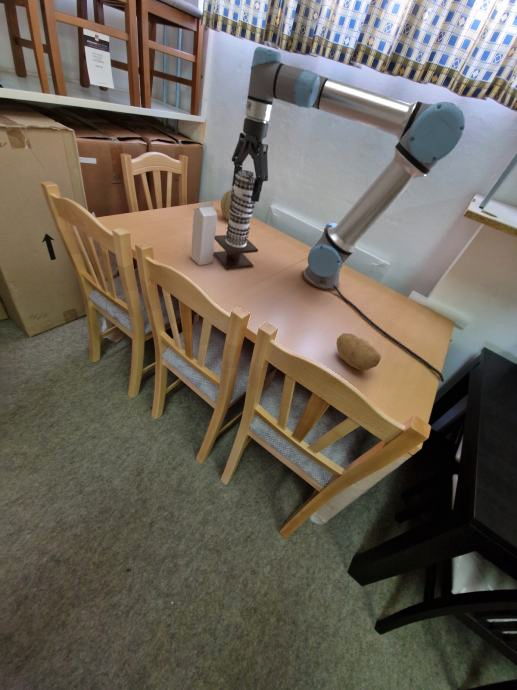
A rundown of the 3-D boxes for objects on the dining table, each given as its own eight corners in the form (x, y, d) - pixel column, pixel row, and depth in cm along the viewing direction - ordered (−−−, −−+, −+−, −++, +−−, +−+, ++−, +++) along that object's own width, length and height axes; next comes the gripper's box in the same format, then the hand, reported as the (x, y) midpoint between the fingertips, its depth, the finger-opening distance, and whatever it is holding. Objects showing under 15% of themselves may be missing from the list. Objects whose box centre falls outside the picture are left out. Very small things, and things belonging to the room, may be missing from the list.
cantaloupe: (242, 229, 146) (248, 197, 136) (214, 220, 146) (218, 188, 136) (250, 219, 157) (256, 190, 147) (224, 211, 157) (228, 181, 147)
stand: (254, 267, 121) (258, 249, 115) (226, 270, 114) (229, 251, 109) (239, 251, 128) (242, 234, 122) (212, 254, 121) (214, 235, 116)
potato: (341, 342, 97) (351, 323, 92) (377, 369, 91) (390, 351, 86) (324, 353, 91) (334, 334, 86) (361, 383, 85) (374, 364, 80)
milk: (212, 262, 116) (219, 205, 102) (199, 265, 113) (204, 207, 98) (203, 255, 119) (208, 198, 104) (190, 258, 115) (194, 199, 101)
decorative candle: (250, 241, 119) (263, 173, 102) (243, 250, 112) (257, 179, 95) (228, 234, 119) (239, 166, 102) (221, 243, 112) (230, 171, 96)
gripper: (227, 108, 94) (219, 180, 108) (268, 128, 80) (253, 208, 95) (247, 112, 98) (237, 181, 112) (290, 132, 84) (272, 208, 98)
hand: (244, 193), depth 103 cm, fingers open, 13 cm apart
